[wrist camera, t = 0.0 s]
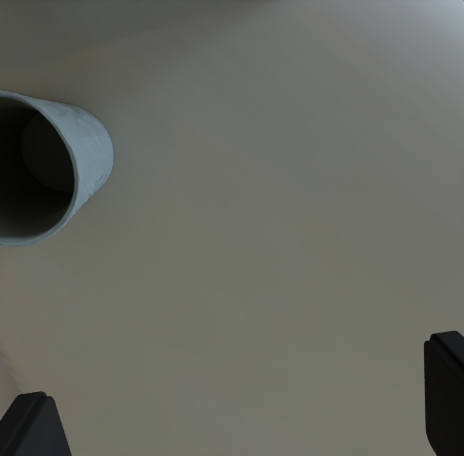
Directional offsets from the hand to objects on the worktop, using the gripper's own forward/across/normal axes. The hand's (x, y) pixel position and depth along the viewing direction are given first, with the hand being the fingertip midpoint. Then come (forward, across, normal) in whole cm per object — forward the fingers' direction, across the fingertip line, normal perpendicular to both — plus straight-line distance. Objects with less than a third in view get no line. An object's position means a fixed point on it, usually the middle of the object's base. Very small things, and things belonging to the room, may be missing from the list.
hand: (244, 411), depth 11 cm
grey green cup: (+31, +14, -5) cm, 35 cm away
